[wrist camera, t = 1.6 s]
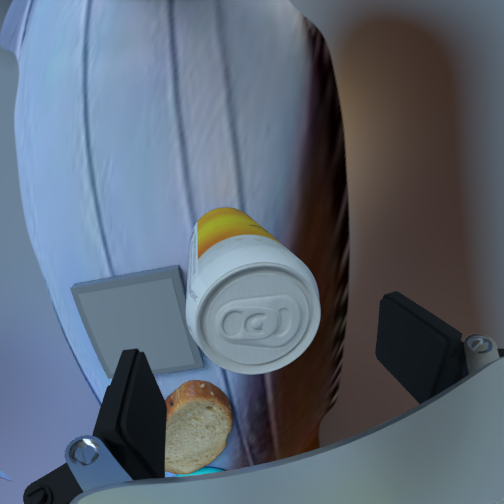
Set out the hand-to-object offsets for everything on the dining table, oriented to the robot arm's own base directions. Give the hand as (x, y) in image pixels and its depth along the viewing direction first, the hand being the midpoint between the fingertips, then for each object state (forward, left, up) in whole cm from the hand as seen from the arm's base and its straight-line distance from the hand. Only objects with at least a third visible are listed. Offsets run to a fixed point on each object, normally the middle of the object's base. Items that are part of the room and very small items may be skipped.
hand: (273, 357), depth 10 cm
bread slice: (+24, -11, -17) cm, 32 cm away
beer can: (-1, 0, -17) cm, 17 cm away
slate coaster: (+6, -10, -17) cm, 20 cm away
